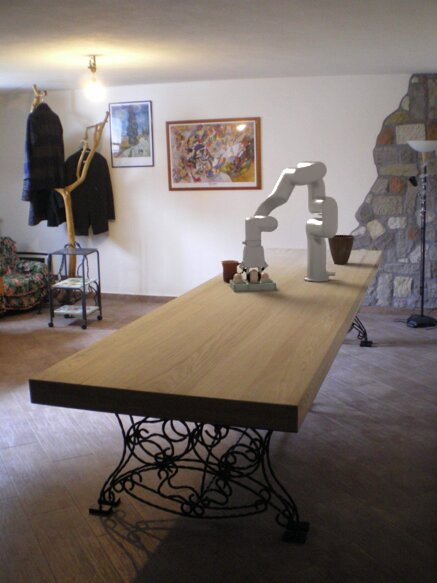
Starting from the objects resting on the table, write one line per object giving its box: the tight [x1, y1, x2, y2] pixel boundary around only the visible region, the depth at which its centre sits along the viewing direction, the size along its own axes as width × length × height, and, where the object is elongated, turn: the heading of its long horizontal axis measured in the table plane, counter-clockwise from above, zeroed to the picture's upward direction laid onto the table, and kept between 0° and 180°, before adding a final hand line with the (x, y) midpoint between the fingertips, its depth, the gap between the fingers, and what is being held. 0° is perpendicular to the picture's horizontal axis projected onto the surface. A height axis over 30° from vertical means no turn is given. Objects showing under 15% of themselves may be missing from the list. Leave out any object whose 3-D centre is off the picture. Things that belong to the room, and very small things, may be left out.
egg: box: [249, 268, 258, 283], centre depth 315 cm, size 4×4×6 cm
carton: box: [229, 271, 277, 293], centre depth 318 cm, size 20×14×7 cm
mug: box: [221, 259, 246, 283], centre depth 336 cm, size 12×9×10 cm
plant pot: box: [327, 234, 355, 265], centre depth 381 cm, size 15×15×16 cm
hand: (253, 280), depth 315 cm, fingers closed on egg, 4 cm apart
